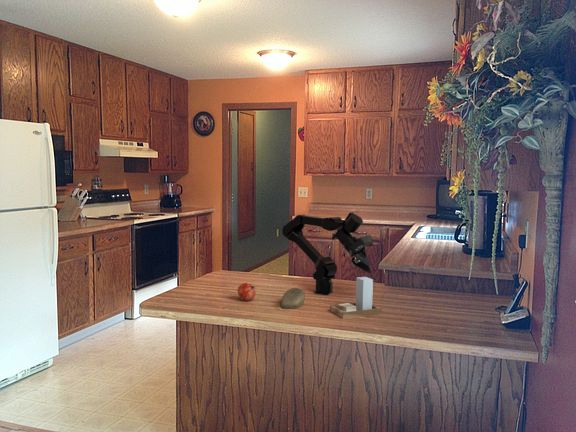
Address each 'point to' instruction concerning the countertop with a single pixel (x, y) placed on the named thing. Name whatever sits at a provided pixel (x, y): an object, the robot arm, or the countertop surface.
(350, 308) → the offcut upper
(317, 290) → the robot arm
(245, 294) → the pomegranate
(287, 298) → the stone
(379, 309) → the wooden tray
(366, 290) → the pale blue rectangular block
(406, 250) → the countertop surface
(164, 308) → the countertop surface
